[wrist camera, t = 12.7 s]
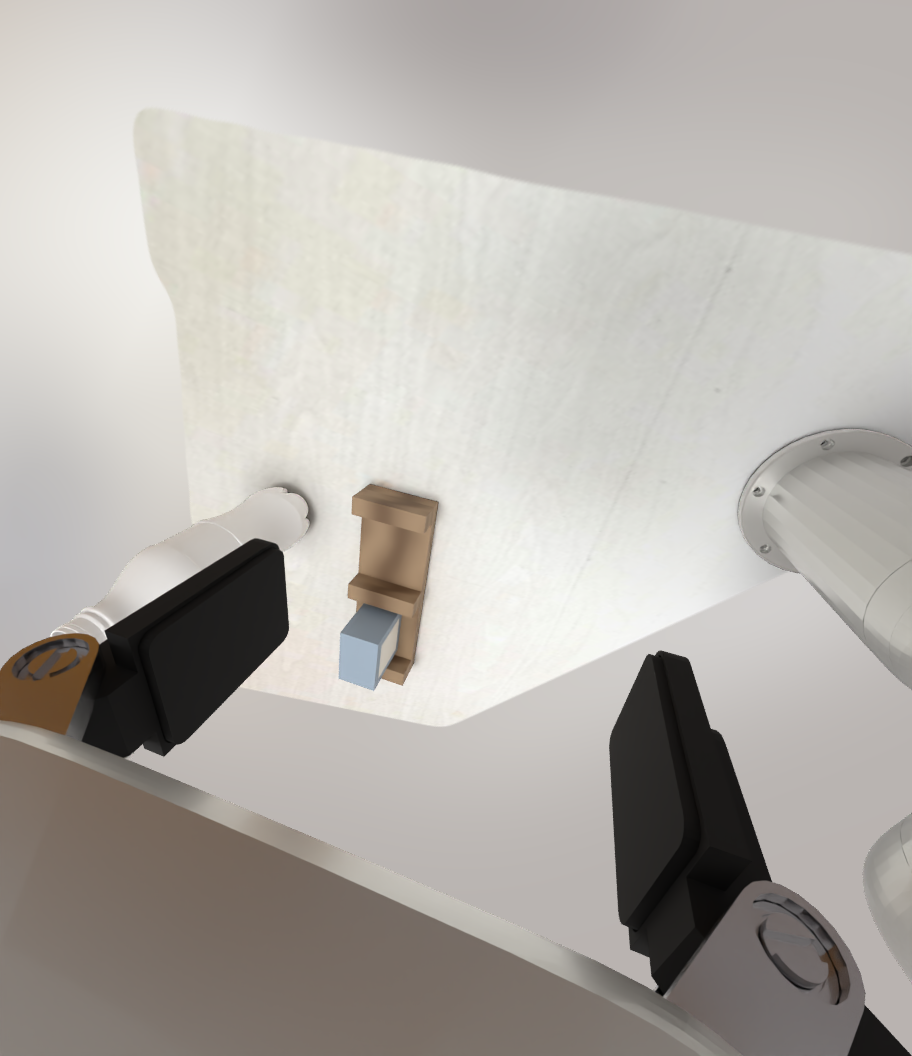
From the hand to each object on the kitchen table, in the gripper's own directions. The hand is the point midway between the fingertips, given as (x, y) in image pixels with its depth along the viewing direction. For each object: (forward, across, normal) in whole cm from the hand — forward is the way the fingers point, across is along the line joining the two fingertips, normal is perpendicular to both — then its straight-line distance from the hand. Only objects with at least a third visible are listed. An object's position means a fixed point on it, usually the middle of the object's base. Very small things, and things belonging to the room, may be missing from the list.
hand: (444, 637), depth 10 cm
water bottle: (+31, +27, +16) cm, 45 cm away
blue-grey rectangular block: (+30, +14, +28) cm, 43 cm away
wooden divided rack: (+31, +14, +23) cm, 41 cm away
